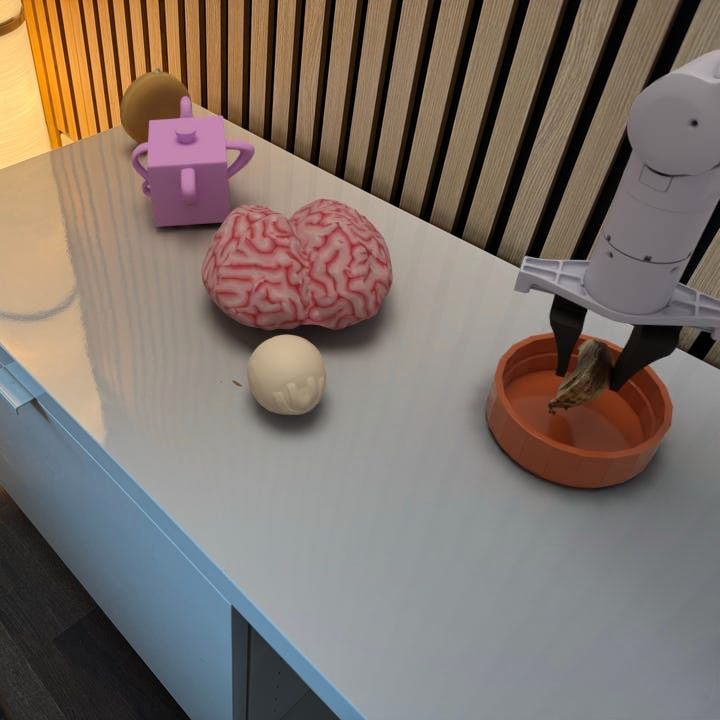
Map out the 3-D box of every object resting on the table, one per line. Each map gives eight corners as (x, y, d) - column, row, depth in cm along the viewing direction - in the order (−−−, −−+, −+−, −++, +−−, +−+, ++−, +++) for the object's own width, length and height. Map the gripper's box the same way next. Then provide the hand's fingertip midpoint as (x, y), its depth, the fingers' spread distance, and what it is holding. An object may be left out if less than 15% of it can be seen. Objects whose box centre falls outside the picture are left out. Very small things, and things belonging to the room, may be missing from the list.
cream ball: (269, 443, 65) (268, 391, 60) (237, 385, 69) (234, 333, 65) (340, 419, 66) (344, 366, 61) (304, 364, 71) (306, 311, 66)
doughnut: (185, 127, 103) (177, 55, 95) (198, 139, 100) (192, 65, 93) (122, 149, 99) (110, 75, 92) (135, 161, 97) (124, 87, 90)
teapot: (141, 164, 96) (130, 89, 89) (250, 157, 97) (247, 81, 89) (136, 251, 84) (123, 172, 77) (261, 243, 84) (259, 163, 77)
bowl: (658, 393, 67) (678, 358, 64) (644, 514, 58) (666, 481, 55) (502, 351, 71) (513, 316, 68) (468, 458, 63) (479, 424, 60)
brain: (364, 232, 85) (372, 152, 78) (407, 344, 72) (421, 262, 65) (197, 249, 84) (189, 170, 77) (211, 365, 71) (204, 284, 64)
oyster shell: (563, 405, 66) (564, 437, 57) (536, 371, 66) (532, 397, 57) (626, 365, 63) (637, 392, 54) (597, 330, 64) (603, 351, 55)
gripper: (769, 228, 51) (690, 367, 60) (546, 184, 55) (506, 319, 65) (771, 292, 46) (685, 431, 56) (528, 238, 51) (488, 375, 61)
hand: (588, 375), depth 60 cm, fingers closed on oyster shell, 3 cm apart
